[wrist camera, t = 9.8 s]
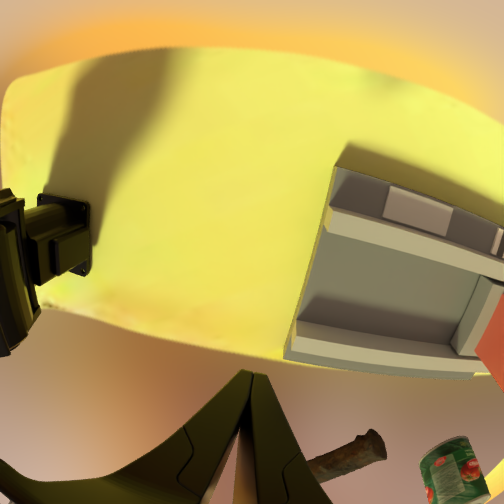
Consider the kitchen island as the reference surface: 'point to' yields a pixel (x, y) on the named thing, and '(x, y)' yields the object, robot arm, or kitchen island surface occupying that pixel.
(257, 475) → the robot arm
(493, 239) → the switch housing
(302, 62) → the kitchen island surface
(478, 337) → the switch tab
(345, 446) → the hand tool
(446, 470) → the canned tomato
